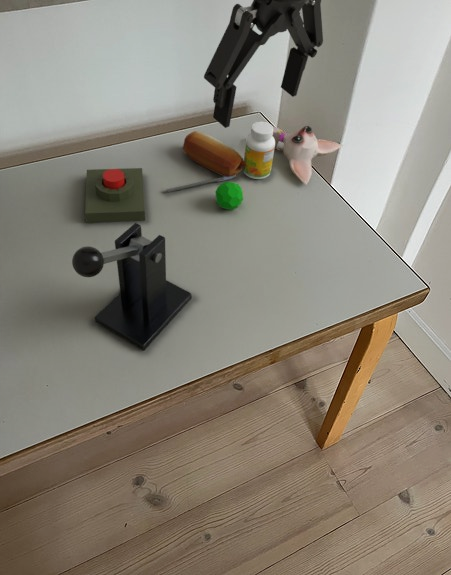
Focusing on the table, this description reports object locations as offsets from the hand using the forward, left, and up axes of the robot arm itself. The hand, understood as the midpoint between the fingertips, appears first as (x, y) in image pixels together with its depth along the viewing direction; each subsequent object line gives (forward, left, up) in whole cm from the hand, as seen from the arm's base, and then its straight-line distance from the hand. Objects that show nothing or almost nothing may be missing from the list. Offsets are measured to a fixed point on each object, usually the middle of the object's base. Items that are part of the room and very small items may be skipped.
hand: (256, 106), depth 84 cm
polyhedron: (-4, -2, -23) cm, 23 cm away
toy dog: (-24, +7, -18) cm, 31 cm away
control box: (-7, -22, -23) cm, 32 cm away
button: (-7, -22, -19) cm, 30 cm away
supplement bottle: (-14, +5, -23) cm, 27 cm away
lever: (+23, -22, -8) cm, 33 cm away
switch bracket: (+19, -18, -23) cm, 34 cm away
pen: (-10, -6, -23) cm, 26 cm away
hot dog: (-15, -6, -21) cm, 26 cm away
